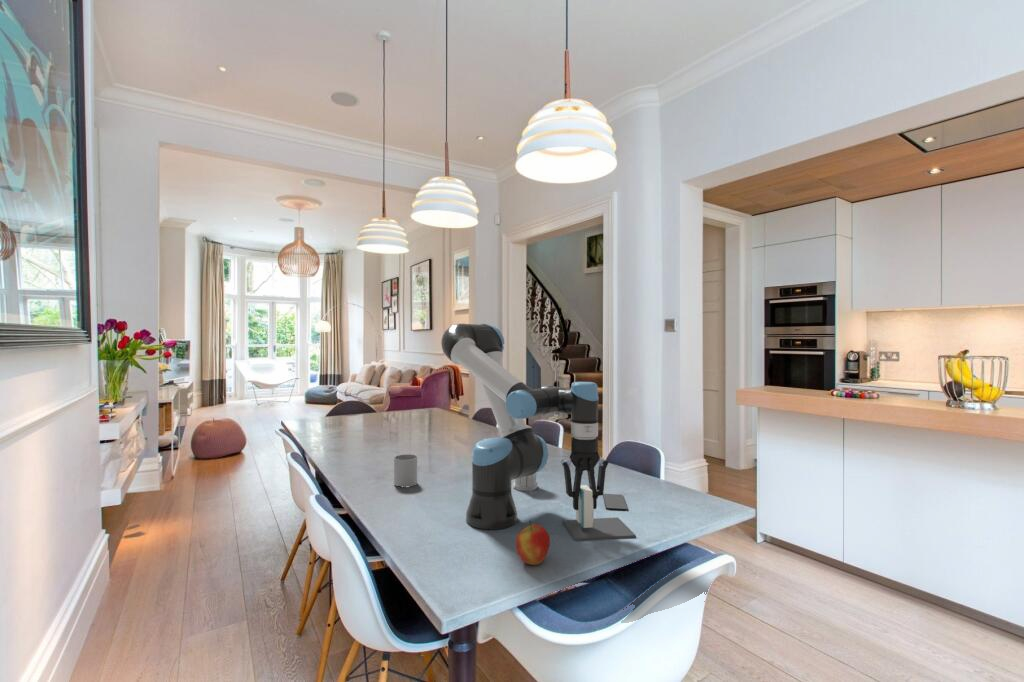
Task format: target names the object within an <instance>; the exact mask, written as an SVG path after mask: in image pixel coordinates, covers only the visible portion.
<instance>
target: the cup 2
mask: <svg viewBox="0 0 1024 682" xmlns="http://www.w3.org/2000/svg"><path fill="white" fill-rule="evenodd" d="M513 488H514V489H515V490H516V489H517V490H516V491H520V492H530V491H531V492H532V491H535V490H536V489H537V488H538V482H537V472H536V473H535V474H533V475H527V476H524V477H520V478H517V479H514V482H513Z"/></svg>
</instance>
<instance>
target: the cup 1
mask: <svg viewBox="0 0 1024 682" xmlns="http://www.w3.org/2000/svg"><path fill="white" fill-rule="evenodd" d="M415 484H416V485H418V455H415V454H409V453H407V454H398V455H396V456H394V457H393V486H394V485H396V486H401V487H402V486H403V487H406V486H412V487H414V486H413V485H415ZM416 485H415V486H416ZM396 486H395V487H396ZM406 488H407V487H406Z"/></svg>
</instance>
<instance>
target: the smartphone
mask: <svg viewBox="0 0 1024 682" xmlns="http://www.w3.org/2000/svg"><path fill="white" fill-rule="evenodd" d="M602 498H603V502H604V506H605V510H606V511H618V512H619V511H622V512H627V511H629V509H628V506H627V503H626V499H625V498H624V494H617V493H603V495H602Z"/></svg>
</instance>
